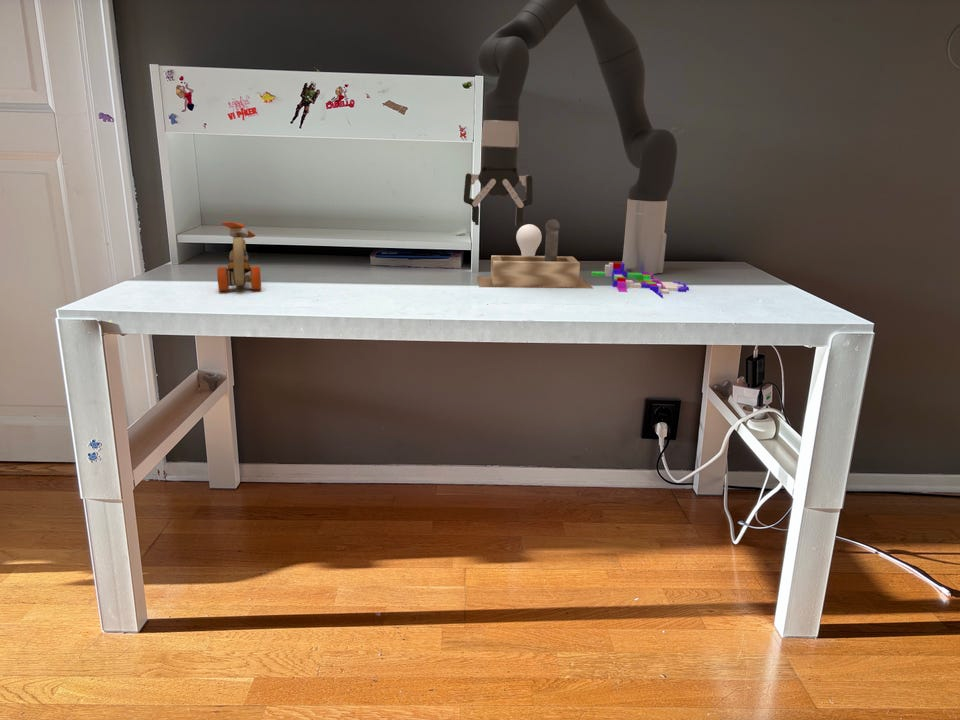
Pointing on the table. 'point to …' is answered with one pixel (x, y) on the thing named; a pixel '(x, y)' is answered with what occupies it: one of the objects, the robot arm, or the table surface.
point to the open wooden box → (534, 271)
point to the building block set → (644, 277)
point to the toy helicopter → (238, 261)
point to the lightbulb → (528, 239)
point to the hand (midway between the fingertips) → (496, 225)
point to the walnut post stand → (550, 255)
